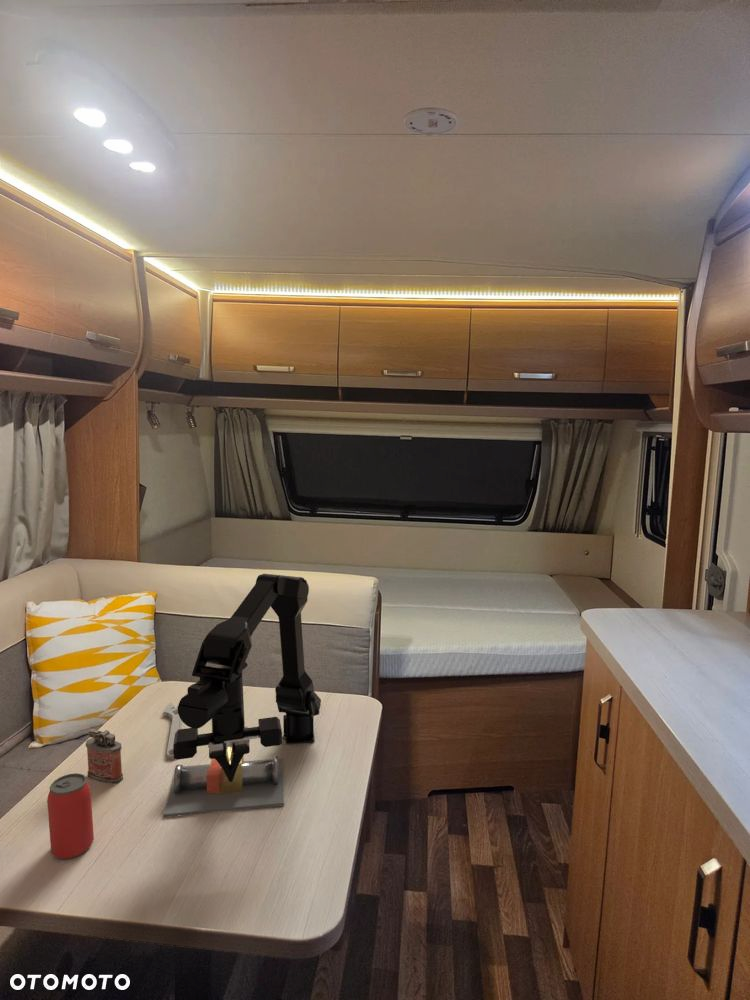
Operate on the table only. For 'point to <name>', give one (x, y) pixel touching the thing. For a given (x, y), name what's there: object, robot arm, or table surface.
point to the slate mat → (226, 797)
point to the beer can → (70, 816)
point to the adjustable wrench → (172, 727)
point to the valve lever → (216, 774)
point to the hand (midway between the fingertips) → (230, 780)
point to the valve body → (243, 775)
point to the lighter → (104, 757)
